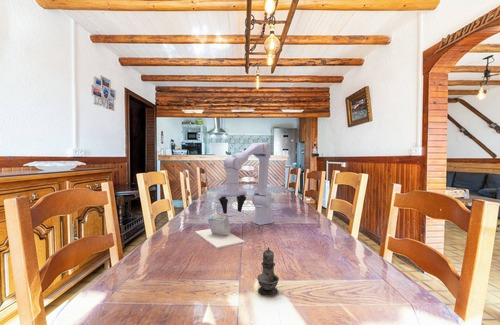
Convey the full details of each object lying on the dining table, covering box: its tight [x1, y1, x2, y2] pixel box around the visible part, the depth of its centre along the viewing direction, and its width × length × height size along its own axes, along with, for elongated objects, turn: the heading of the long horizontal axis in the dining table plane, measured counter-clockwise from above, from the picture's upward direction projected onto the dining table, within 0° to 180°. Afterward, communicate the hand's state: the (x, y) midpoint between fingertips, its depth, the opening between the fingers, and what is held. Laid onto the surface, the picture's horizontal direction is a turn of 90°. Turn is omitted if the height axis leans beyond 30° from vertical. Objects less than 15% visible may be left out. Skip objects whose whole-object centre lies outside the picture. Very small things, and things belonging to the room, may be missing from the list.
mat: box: [194, 228, 246, 249], centre depth 110 cm, size 13×24×1 cm, turn 33°
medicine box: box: [207, 213, 232, 236], centre depth 111 cm, size 8×4×9 cm, turn 68°
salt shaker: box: [256, 247, 280, 298], centre depth 66 cm, size 6×6×12 cm
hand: (232, 212), depth 114 cm, fingers open, 7 cm apart
